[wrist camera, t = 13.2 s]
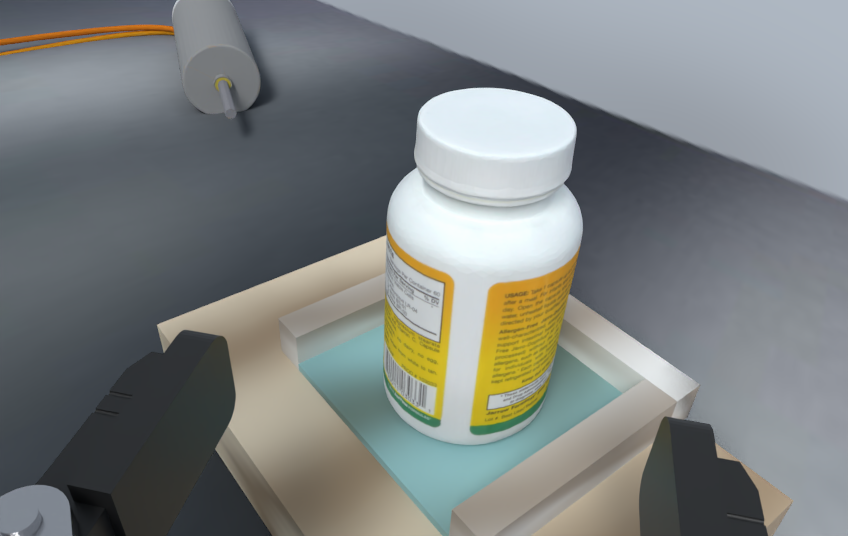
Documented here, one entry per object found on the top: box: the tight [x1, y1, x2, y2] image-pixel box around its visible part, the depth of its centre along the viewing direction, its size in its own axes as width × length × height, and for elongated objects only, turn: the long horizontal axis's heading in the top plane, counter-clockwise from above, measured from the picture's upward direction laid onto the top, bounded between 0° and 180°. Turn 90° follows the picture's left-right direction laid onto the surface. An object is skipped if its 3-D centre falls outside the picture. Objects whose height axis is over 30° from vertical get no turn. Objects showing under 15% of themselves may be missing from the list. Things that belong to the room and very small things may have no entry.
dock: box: [157, 236, 793, 536], centre depth 23 cm, size 18×12×4 cm
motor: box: [0, 0, 261, 119], centre depth 49 cm, size 23×22×5 cm
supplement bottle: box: [383, 88, 583, 445], centre depth 20 cm, size 5×5×10 cm
